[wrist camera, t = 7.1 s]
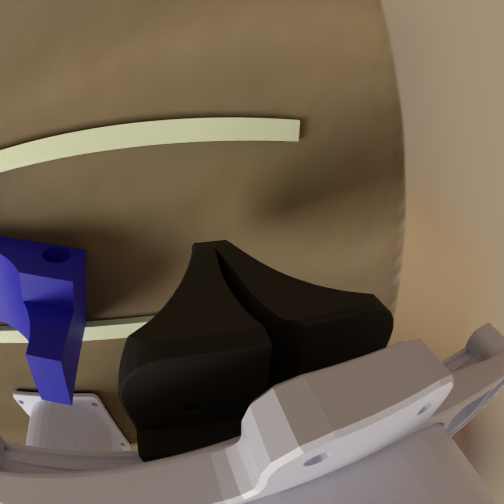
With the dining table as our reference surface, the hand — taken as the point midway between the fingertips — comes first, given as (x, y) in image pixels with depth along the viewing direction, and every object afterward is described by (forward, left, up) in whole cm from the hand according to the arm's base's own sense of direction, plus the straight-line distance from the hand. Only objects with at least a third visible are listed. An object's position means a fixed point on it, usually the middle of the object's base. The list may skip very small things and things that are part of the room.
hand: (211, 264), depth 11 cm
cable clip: (-1, +12, -3) cm, 13 cm away
